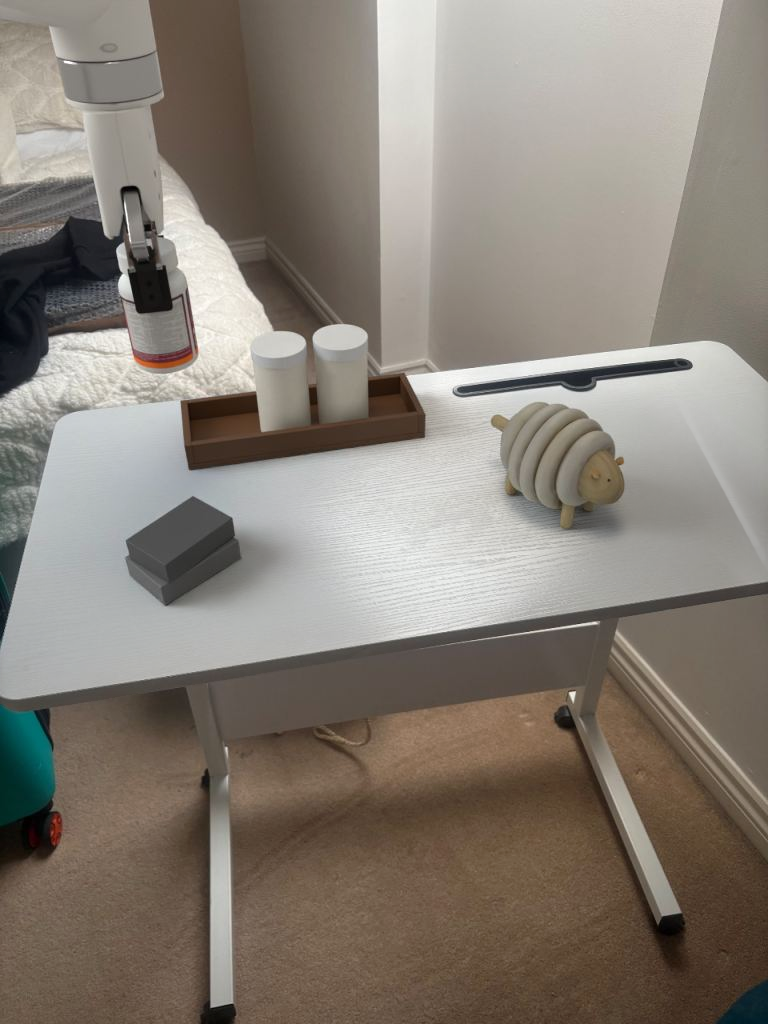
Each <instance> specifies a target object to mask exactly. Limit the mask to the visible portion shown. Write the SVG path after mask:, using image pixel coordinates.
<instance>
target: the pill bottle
mask: <svg viewBox="0 0 768 1024" xmlns="http://www.w3.org/2000/svg"><path fill="white" fill-rule="evenodd" d="M146 240H147V245H148V246H151V247H152V241H151V239H146ZM158 242H159V248H160V254H161V260H162V265H166V270H167V276H168V281H169V287H170V292H171V297H172V303H173V309H172V310H171V311H164V312H154V313H145V314H139V313H137V312H136V309H135V304H134V299H133V295H132V290H131V285H130V281H129V276H128V271H127V269H129V266H128V261H127V255H126V250H125V244H124V242H122V243H120V244H119V245H118V246H117V247H116V250H115V252H116V257H117V261H118V268H119V270H120V272H121V273H122V274H121V276H120V277H119V279H118V282H117V289H118V295H119V298H120V303H121V308H122V311H123V316H124V320H125V324H126V329H127V333H128V338H129V343H130V347H131V352H132V356H133V360H134V363H135V364H136V366H137V367H138V368H139V369H141V370H143V371H145V372H147V373H150V374H151V373H152V374H157V375H167V374H173V373H177V372H180V371H184V370H185V369H187V368H190V367H191V366H192V365H193V364H194V363H195V362H196V361H197V360H198V357H199V346H198V339H197V333H196V328H195V327H196V326H195V323H194V322H195V320H194V315H193V310H192V304H191V303H192V302H191V297H190V292H189V284H188V280H187V276H186V274H185V273H184V272H183V271H182V270H181V269H180V268H178V266H179V259H178V255H177V249H176V244H175V243H174V242H173V241H172V240H171V239H169V238H165V237H164V238H162V237H158ZM152 249H153V247H152Z"/></svg>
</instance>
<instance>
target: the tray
mask: <svg viewBox="0 0 768 1024" xmlns="http://www.w3.org/2000/svg"><path fill="white" fill-rule="evenodd" d="M308 387H309V400H310V414H311V426H304V427H296V428H289V429H281V430H274V431H266V432H261V427H260V418H259V410H258V402H257V393H256V390H254V391H246V392H239V393H238V392H237V393H229V394H220V395H213V396H205V397H197V398H189V399H182V400H180V402H179V403H180V412H181V423H182V424H181V425H182V434H183V446H184V452H185V457H186V463H187V469H188V470H189V471H191V470H192V471H193V470H197V469H198V470H199V469H200V470H201V469H204V468H213V467H220V466H221V467H222V466H228V465H236V464H240V463H241V464H242V463H251V462H255V461H265V460H271V459H277V458H284V457H285V458H287V457H291V456H301V455H307V454H314V453H321V452H327V451H334V450H341V449H350V448H357V447H364V446H370V445H377V444H378V445H379V444H385V443H393V442H399V441H407V440H414V439H415V440H416V439H422V438H425V436H426V412H425V410H424V408H423V406H422V404H421V402H420V401H419V398H418V396H417V394H416V392H415V390H414V388H413V387H412V384H411V383H410V381H409V378H408V377H407V375H406V373H405V372H397V373H390V374H381V375H375V376H368V412H369V418H364V419H356V420H349V421H341V422H334V423H326V424H320V423H319V415H318V399H317V384H316V383H311V384H309V383H308Z"/></svg>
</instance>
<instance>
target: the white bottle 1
mask: <svg viewBox="0 0 768 1024" xmlns="http://www.w3.org/2000/svg"><path fill="white" fill-rule="evenodd" d="M306 340H307V339H305V338H304V337H303V336H302V335H301V334H299V333H296V332H293V331H289V330H288V331H286V330H276V331H275V330H274V331H269V332H265V333H262V334H259V335H258V336H255V338H253V339H252V340H251V342H250V345H249V350H250V358H251V361H252V365H253V366H252V367H253V374H254V375H253V377H254V386H255V391H256V393H257V402H258V410H259V418H260V427H261V432H266V431H274V430H281V429H289V428H296V427H304V426H311V414H310V400H309V387H308V385H309V376H308V374H309V373H308V362H307V361H308V360H307V357H308V347H307V341H306Z"/></svg>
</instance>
